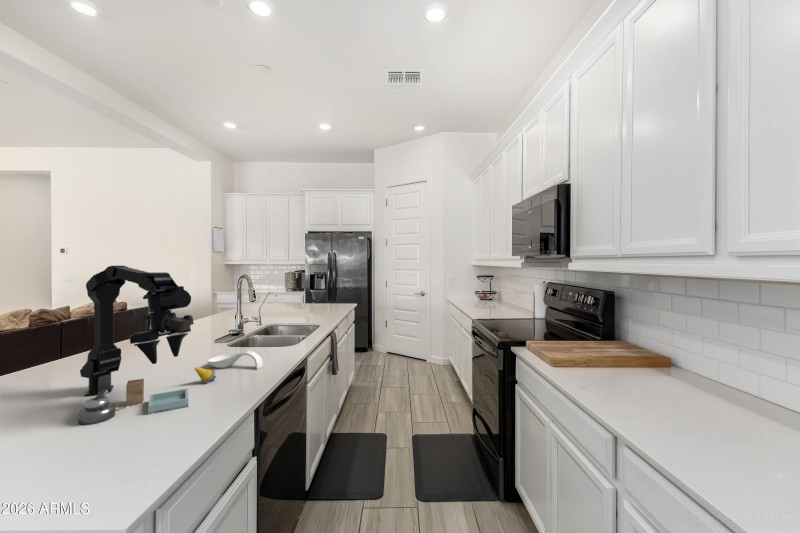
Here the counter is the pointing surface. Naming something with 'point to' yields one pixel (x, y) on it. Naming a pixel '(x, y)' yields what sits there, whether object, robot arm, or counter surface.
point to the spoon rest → (234, 359)
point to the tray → (168, 401)
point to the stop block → (134, 392)
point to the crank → (100, 394)
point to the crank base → (96, 415)
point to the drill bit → (205, 374)
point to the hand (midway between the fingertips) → (165, 360)
